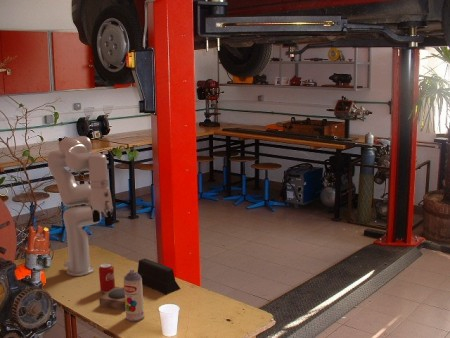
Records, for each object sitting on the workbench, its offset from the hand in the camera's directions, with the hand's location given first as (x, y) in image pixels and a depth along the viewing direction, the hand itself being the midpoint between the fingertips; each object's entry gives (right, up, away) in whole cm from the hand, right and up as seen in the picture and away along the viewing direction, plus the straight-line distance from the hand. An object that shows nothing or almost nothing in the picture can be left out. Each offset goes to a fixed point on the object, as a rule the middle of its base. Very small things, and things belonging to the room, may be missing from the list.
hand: (102, 223), depth 234 cm
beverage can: (+1, -30, +8) cm, 32 cm away
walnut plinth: (+8, -32, -5) cm, 34 cm away
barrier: (+21, -29, +13) cm, 38 cm away
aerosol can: (+17, -35, -18) cm, 43 cm away
